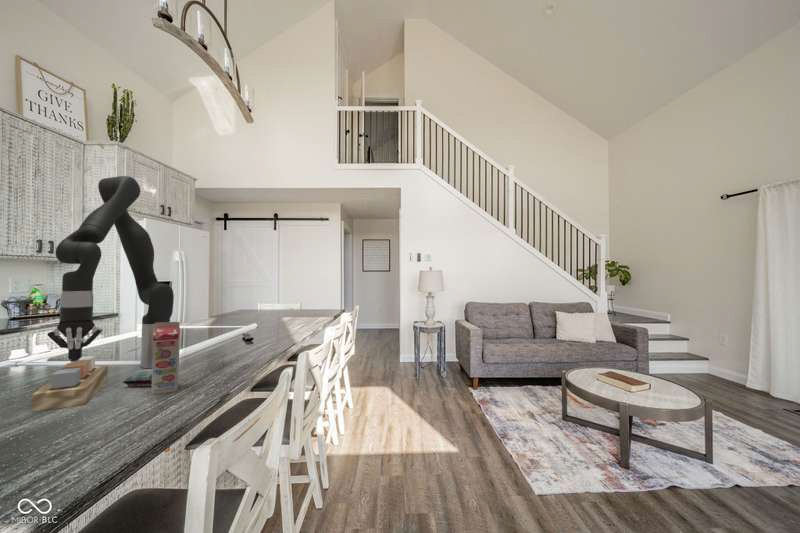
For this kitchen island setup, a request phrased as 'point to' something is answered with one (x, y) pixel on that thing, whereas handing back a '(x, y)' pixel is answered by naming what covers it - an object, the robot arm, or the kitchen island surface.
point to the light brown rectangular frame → (70, 392)
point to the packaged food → (140, 378)
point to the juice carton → (165, 357)
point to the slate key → (66, 378)
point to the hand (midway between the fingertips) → (74, 360)
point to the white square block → (87, 359)
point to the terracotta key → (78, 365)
